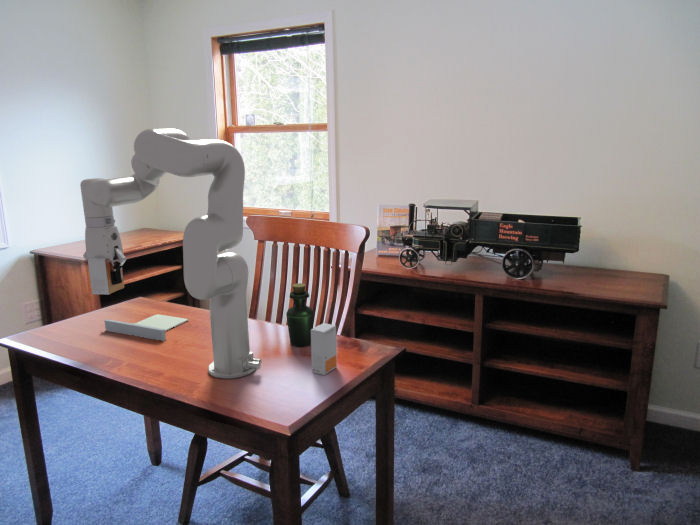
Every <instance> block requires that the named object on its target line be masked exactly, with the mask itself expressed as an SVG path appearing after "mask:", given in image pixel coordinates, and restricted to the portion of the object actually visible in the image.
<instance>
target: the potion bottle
mask: <svg viewBox="0 0 700 525" xmlns="http://www.w3.org/2000/svg"><path fill="white" fill-rule="evenodd" d="M292 289H293V291H290V294H289V296H288V297H289V299H292V301H293V304H294V305H293V306H292V307H290V308H288V309H287V311H286V321H287V330H288V336H289V342H290V343H289V344H291V346H293V347H297V348H305V347H308V346H311V329H313V328H314V314H315V313H314V310H313V308H311V306H308V305H306V299H308V298H310V293H309V291H307V290H306V284H305V283H301V282H300V283H294V284H292Z"/></svg>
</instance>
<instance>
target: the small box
mask: <svg viewBox="0 0 700 525" xmlns="http://www.w3.org/2000/svg"><path fill="white" fill-rule="evenodd" d="M113 260H114V258H113ZM118 260H119V259H118ZM87 264H88V272H89V280H90V287H91V293H92V295H112V293H115V292H117V291H119V290H122V289H124V288H125V282H124V281H125V280H124V272H123V268H122V269H121V270H120V271H121V279H122V282H121V283H119V284H116V285H112V281H111V273H110V272H111V271H112V270H111V267H110V263H109V262H108V260H107V259H105V258H91V259H88V263H87ZM115 265H116V264H115V262H114V266H115Z"/></svg>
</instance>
